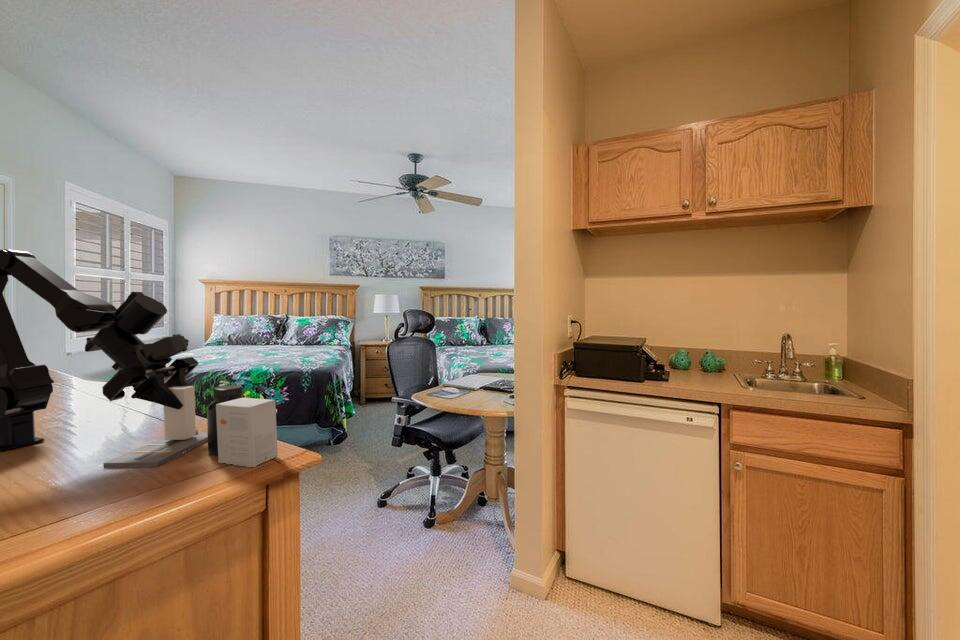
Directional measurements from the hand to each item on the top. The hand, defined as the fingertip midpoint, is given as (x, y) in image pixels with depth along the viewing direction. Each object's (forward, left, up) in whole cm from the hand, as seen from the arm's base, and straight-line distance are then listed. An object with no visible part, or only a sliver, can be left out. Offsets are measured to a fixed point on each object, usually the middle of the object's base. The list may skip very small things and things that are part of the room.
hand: (186, 405), depth 83 cm
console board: (0, -4, -8) cm, 8 cm away
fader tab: (-1, 0, -6) cm, 7 cm away
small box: (+19, -3, -8) cm, 21 cm away
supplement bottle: (+11, 0, -8) cm, 14 cm away
